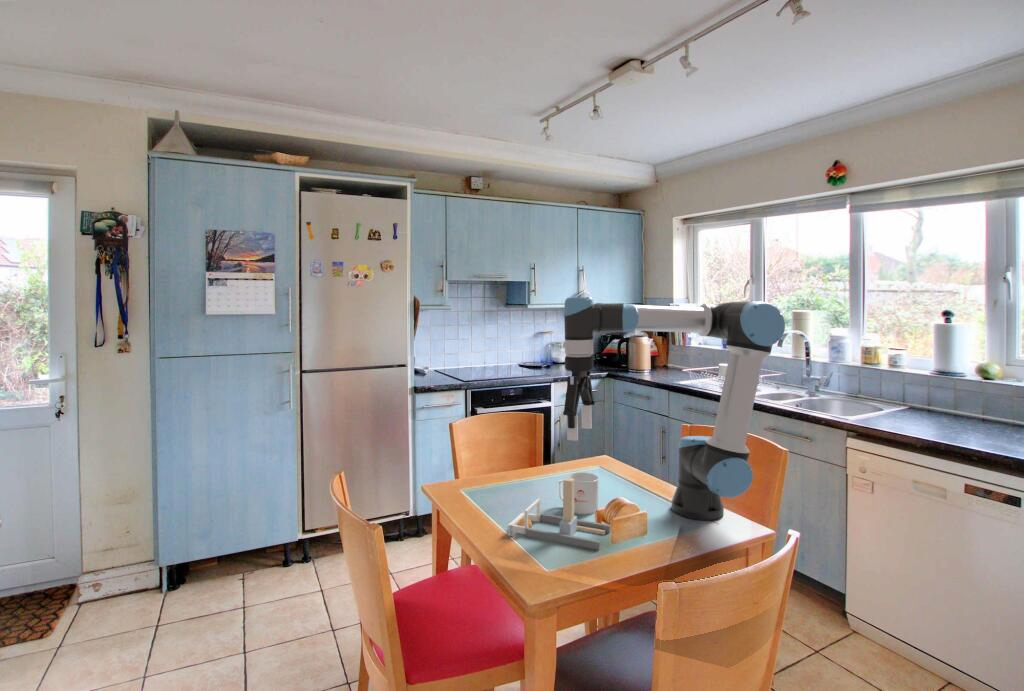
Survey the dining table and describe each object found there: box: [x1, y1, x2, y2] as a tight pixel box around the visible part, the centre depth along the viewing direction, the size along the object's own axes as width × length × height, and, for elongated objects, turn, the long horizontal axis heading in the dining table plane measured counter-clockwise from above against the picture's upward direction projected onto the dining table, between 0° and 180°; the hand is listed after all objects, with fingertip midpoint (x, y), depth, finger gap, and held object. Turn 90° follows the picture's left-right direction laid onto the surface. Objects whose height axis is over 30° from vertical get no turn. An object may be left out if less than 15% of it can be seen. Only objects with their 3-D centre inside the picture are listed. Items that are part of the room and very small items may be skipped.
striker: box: [559, 477, 578, 536], centre depth 146 cm, size 3×6×15 cm, turn 156°
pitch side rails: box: [525, 512, 611, 551], centre depth 147 cm, size 20×12×3 cm, turn 66°
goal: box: [507, 498, 542, 537], centre depth 152 cm, size 6×10×8 cm, turn 156°
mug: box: [558, 472, 600, 515], centre depth 165 cm, size 12×9×11 cm
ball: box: [519, 518, 533, 528], centre depth 152 cm, size 4×4×4 cm
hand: (579, 434), depth 146 cm, fingers open, 13 cm apart
